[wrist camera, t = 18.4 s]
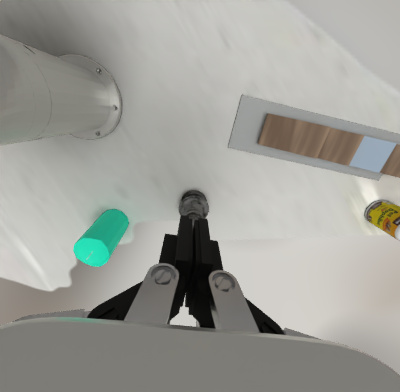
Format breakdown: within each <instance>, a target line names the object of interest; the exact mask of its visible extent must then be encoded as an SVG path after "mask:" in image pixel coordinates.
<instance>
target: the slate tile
mask: <svg viewBox="0 0 400 392" xmlns="http://www.w3.org/2000/svg"><path fill="white" fill-rule="evenodd" d="M396 144H397V143H394V142H389V141H385V140H380V139H376V138H371V137H367V136H364V138H363V140H362V142H361V143H360V145H359V147H358V149H357V151H356V153H355V155H354V157H353V158H352V160H351V162H350V164H349V165H350V166H354V167H358V168H362V169H366V170H370V171H373V172H377V173H379V172H380V171H381V169H382V167H383V166H384V164H385V162H386V161H387V159H388V157H389V156H390V154H391V152H392V151H393V149H394V147H395V146H396Z"/></svg>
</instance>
